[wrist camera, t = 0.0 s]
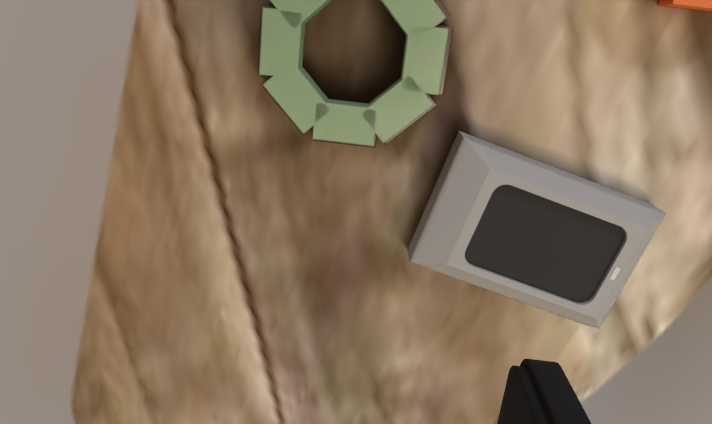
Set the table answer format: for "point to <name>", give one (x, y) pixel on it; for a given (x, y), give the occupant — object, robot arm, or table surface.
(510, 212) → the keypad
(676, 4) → the terracotta ring
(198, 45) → the table surface
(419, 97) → the green ring
